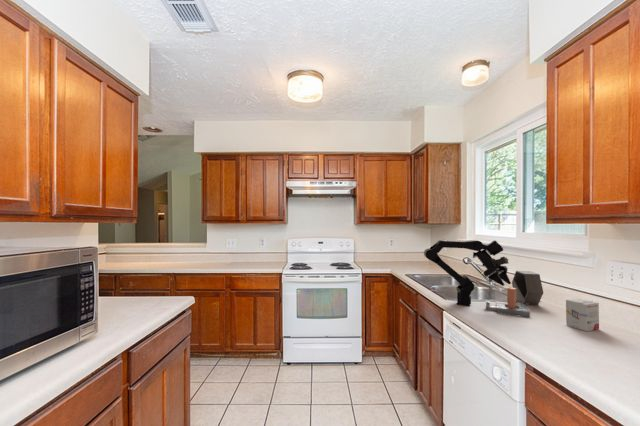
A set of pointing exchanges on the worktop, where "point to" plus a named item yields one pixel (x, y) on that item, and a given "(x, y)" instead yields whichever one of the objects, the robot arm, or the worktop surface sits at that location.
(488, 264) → the robot arm
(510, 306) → the wedge pin
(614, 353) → the worktop surface
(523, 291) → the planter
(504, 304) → the grey square frame
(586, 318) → the ink box
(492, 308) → the bracket
